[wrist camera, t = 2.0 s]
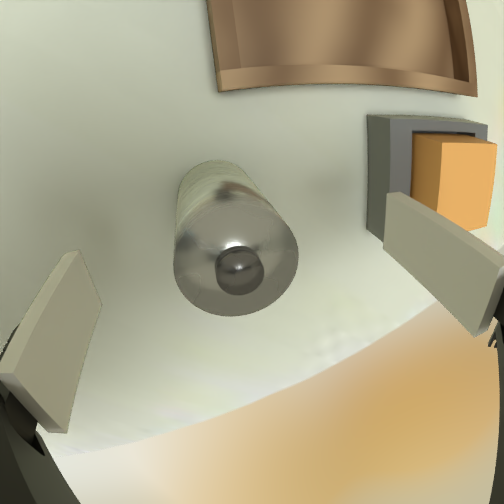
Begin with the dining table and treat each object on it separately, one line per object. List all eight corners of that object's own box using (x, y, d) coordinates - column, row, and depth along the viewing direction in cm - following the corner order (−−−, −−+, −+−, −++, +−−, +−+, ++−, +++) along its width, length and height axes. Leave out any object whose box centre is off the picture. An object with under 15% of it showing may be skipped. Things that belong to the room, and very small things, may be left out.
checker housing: (366, 228, 21) (385, 244, 18) (367, 114, 17) (389, 118, 15) (458, 210, 22) (477, 221, 20) (465, 119, 18) (487, 124, 16)
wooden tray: (218, 92, 15) (222, 90, 13) (200, -43, 10) (203, -60, 8) (457, 94, 17) (477, 97, 15) (443, -8, 13) (462, -12, 11)
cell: (186, 238, 18) (190, 336, 11) (171, 168, 16) (157, 227, 9) (257, 224, 19) (305, 311, 11) (248, 154, 17) (301, 200, 9)
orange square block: (403, 220, 19) (432, 240, 16) (407, 133, 16) (442, 142, 13) (458, 209, 20) (486, 226, 17) (464, 134, 17) (497, 144, 14)
